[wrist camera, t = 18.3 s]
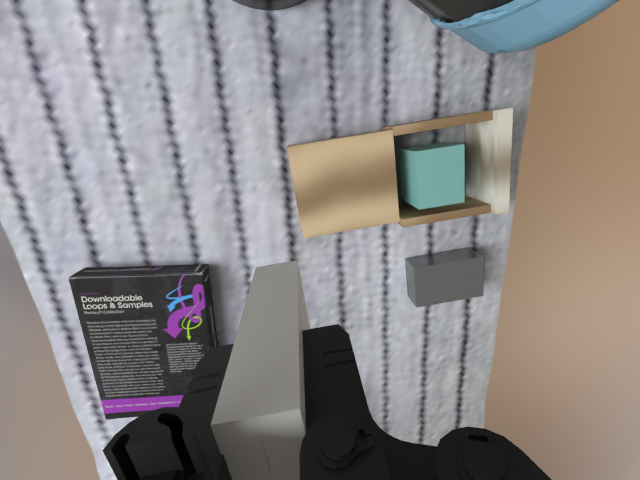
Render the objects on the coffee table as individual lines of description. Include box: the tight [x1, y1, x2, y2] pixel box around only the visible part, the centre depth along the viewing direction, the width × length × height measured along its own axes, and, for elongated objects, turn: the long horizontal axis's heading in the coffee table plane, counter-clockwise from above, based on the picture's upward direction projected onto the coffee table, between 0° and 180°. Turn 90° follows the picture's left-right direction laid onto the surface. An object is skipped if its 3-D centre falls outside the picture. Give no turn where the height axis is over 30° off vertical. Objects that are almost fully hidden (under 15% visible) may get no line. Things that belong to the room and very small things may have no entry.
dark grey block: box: [405, 247, 484, 307], centre depth 38 cm, size 5×8×3 cm, turn 99°
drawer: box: [287, 108, 513, 238], centre depth 32 cm, size 10×20×6 cm, turn 99°
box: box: [69, 264, 218, 419], centre depth 39 cm, size 14×4×20 cm
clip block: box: [398, 142, 465, 210], centre depth 33 cm, size 6×6×4 cm
